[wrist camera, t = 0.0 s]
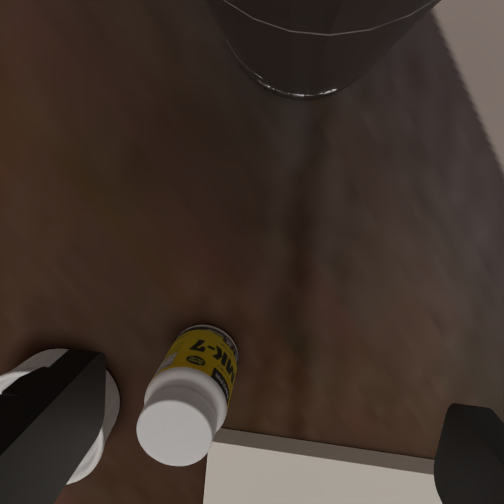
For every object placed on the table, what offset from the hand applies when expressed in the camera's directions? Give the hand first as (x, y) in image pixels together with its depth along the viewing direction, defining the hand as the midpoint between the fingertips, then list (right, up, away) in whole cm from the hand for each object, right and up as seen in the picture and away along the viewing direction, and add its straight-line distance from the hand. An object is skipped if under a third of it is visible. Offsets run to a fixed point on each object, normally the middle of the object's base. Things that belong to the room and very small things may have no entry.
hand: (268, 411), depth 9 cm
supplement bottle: (-4, -3, +19) cm, 20 cm away
